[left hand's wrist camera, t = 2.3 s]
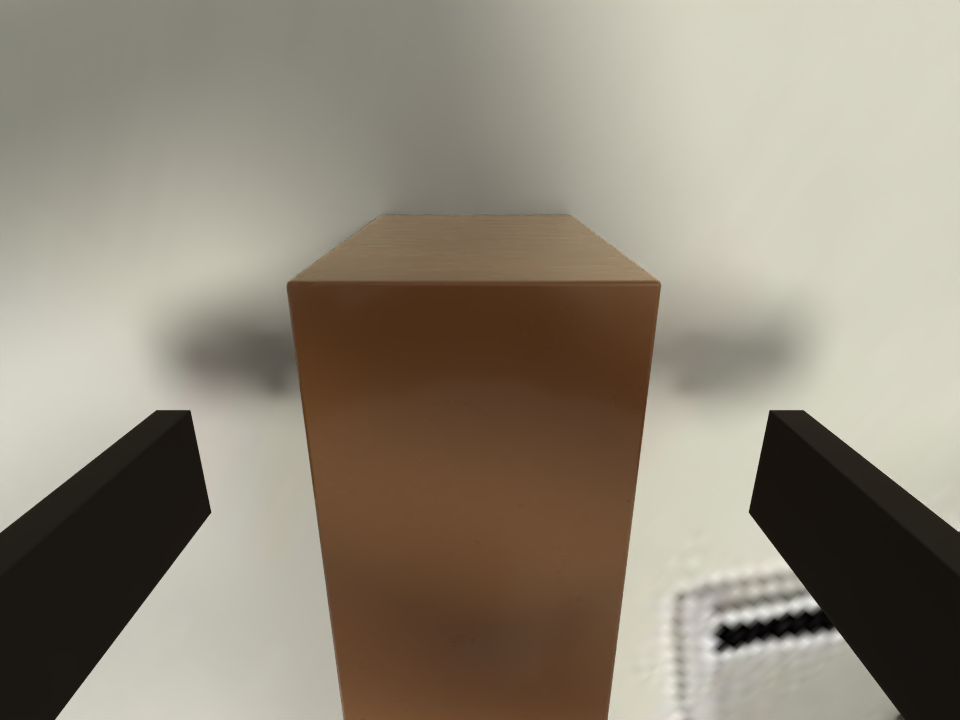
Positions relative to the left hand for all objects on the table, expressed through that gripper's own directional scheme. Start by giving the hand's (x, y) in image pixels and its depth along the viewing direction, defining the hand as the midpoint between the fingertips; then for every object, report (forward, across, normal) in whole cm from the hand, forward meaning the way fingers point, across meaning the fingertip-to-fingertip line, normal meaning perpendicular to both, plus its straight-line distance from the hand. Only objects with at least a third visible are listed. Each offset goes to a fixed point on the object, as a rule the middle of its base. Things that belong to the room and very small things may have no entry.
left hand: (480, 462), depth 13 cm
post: (+7, 0, -27) cm, 28 cm away
